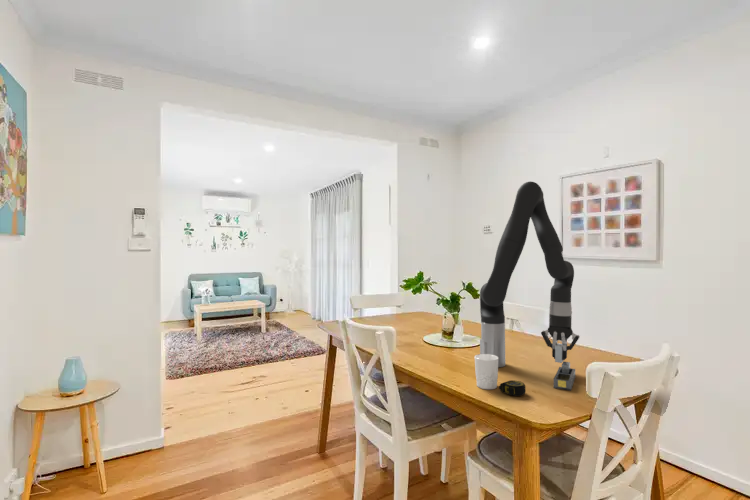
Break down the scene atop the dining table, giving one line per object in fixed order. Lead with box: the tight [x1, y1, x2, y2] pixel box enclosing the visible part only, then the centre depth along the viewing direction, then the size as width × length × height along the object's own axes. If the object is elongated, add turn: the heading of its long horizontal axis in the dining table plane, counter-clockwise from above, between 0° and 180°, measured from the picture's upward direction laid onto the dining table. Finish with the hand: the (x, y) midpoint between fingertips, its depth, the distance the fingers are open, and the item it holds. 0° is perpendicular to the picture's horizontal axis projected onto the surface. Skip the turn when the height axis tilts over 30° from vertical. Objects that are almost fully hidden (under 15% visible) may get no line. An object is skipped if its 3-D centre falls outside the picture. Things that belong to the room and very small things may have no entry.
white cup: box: [473, 353, 499, 390], centre depth 131 cm, size 8×8×10 cm
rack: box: [553, 360, 576, 392], centre depth 133 cm, size 16×5×6 cm, turn 148°
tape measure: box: [498, 380, 526, 397], centre depth 124 cm, size 7×7×4 cm
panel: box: [554, 342, 564, 364], centre depth 144 cm, size 5×2×6 cm, turn 145°
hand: (559, 359), depth 144 cm, fingers closed on panel, 2 cm apart
